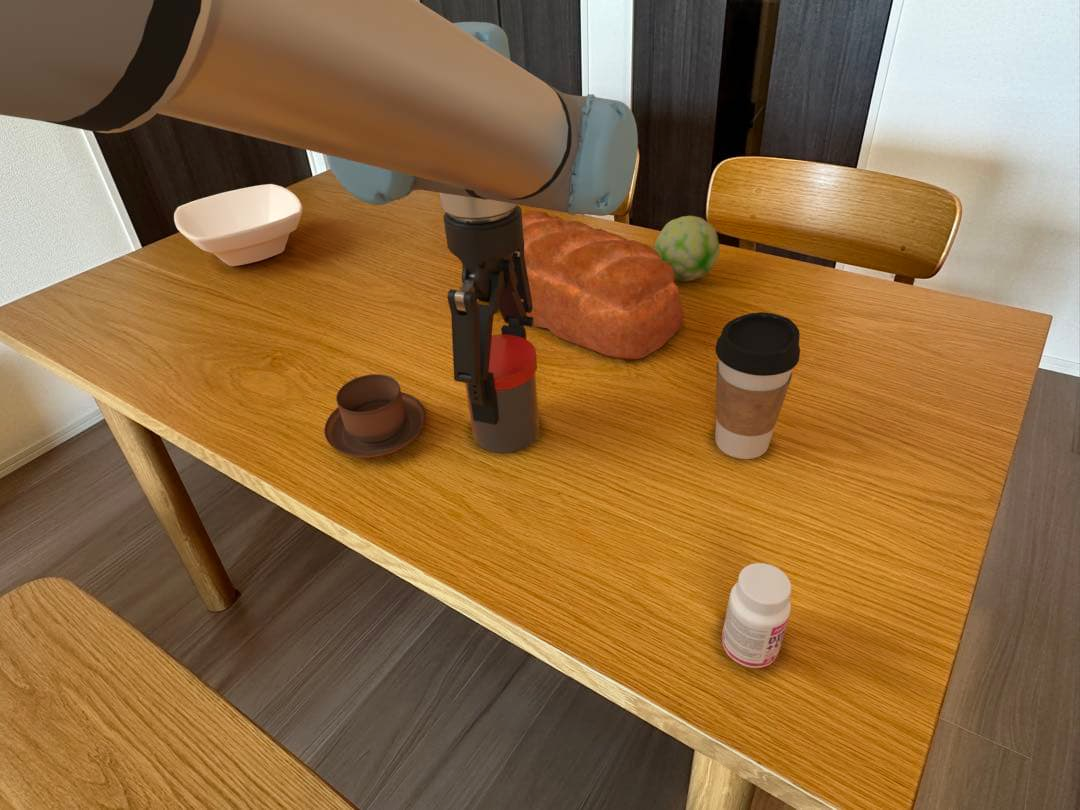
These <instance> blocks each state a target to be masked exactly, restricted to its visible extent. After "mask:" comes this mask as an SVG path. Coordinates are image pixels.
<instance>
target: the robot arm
mask: <svg viewBox="0 0 1080 810" xmlns="http://www.w3.org/2000/svg"><path fill="white" fill-rule="evenodd" d="M157 114H159V115H163V116H167V117H171V118H175V119H179V120H184V121H187V122H192V123H195V124H200V125H203V126H207V127H212V128H216V129H221V130H225V131H229V132H232V133H235V134H236V133H237V134H241V135H244V136H248V137H253V138H257V139H261V140H265V141H269V142H273V143H277V144H281V145H286V146H290V147H292V148H298V149H301V150H306V151H310V152H314V153H317V154H318V153H319V154H323V155H326V156H327V157H326V159H327V163H328V167H329V168H330V170H331V172H332V174H333V176H334V177H335V179H336V180H337V182H338V183H339V184H340V185H341V186H342V187H343V188H344V190H345V191H346V192H347V193H349V194H350V195H351V196H353V197H354V198H355V199H357V200H359V201H361V202H363V203H365V204H368V205H374V206H383V205H387V204H389V203H392V202H394V201H396V200H397V201H398V200H399V201H400V200H401V199H404V198H406V197H408V196H410V194H411V193H412V192H413V191H426V192H433V193H437V194H438V193H439V199H440V207H441V209H442V210H443V211H444V212H445V213H444V214H443V217H442V218H443V224H444V225H443V226H444V232H445V239H446V245H447V248H448V250H449V252H450V253H451V254H452V255H454V256H455V257H456V258H457V259H458V260H459V261H460V262H461V264H462V265H461V266H462V268H461V269H462V270H461V283H462V284H461V286H460V287H459V288H458V289H454V288H453V289H452V288H450V289H449V290H448V291H447V296H446V297H447V302H448V307H449V310H450V316H451V318H450V319H451V339H452V341H451V342H452V365H453V379H454V381H455V382H459V383H463V384H465V383H468V385H469V392H470V399H471V406H472V413H473V419H474V421H478V422H483V423H488V424H493V425H496V424H497V423H498V421H499V420H498V411H497V403H496V394H495V385H494V377H493V373H490V372H489V362H490V350H491V338H492V335H493V325H494V316H495V314H497V313H498V312H500V315H501V317H502V319H503V321H504V323H505V324H503V325H502V326H501V328H500V331H501V334H508V335H515V336H519V337H522V338H524V339H526V340H527V333H526V332H527V331H526V327H529V328H530V327H533V326H534V325H533V321H534V320H533V317H528V316H527V315H526V313H531V312H532V309H533V304H532V298H531V292H530V287H529V281H528V275H527V269H526V263H525V257H524V237H523V224H522V214H523V213H522V212H523V211H522V208H521V207H520V206H523V207H524V206H525V207H530V208H536V209H543V210H549V211H554V212H561V213H567V214H568V215H572V216H575V215H586V216H587V215H588V216H598V217H605V216H609V215H611V214H613V213H614V212H615V211H617V210H618V209H619V208H620V207H621V206H622V204H623V203H624V201H625V200H626V198H627V196H628V193H629V191H630V189H631V186H632V183H633V179H634V175H635V171H636V164H637V159H638V148H639V140H638V139H639V137H638V136H639V135H638V128H637V127H638V126H637V122H636V118H635V116H634V113H633V111H632V110H631V109H630V107H629V106H628V105H627V104H626V103H625V102H623V101H620V100H615V99H610V98H603V97H598V96H596V95H595V94H592V93H591V94H590V93H587V95H574V94H568V93H565V92H562V91H560V90H559V89H556V88H555V87H553V86H551V85H550V84H548V83H547V82H545V81H543V80H542V79H540V78H539V77H537V76H535V75H534V74H532V73H531V72H529V71H528V70H526V69H524V68H523V67H521V66H520V65H518V64H517V63H515V62H514V61H512V60H511V53H510V45H509V38H508V36H507V33H506V32H505V30H503V28H501V27H500V26H499V25H497V24H495V23H491V22H486V21H460V22H458V21H457V22H451V21H449V20H448V19H447V18H445V17H444V16H442V15H440V14H439V13H437V12H435V11H434V10H433V9H431V8H429V7H428V6H426V5H424V4H423V3H422V2H420V1H418V0H0V116H6V117H11V118H12V117H13V118H19V119H26V120H32V121H38V122H45V123H49V124H55V125H59V126H64V127H69V128H73V129H78V130H82V131H83V130H84V131H89V132H95V133H102V134H115V133H123V132H126V131H129V130H132V129H136V128H138V127H140V126H141V125H143V124H145V123H146V122H148V121H150V120H151V119H152V118H153V117H154V116H155V115H157ZM521 299H523V301H524V302H523V301H521ZM480 302H481V303H480ZM488 302H490V303H489V304H482V303H488ZM507 324H508V325H507Z"/></svg>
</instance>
